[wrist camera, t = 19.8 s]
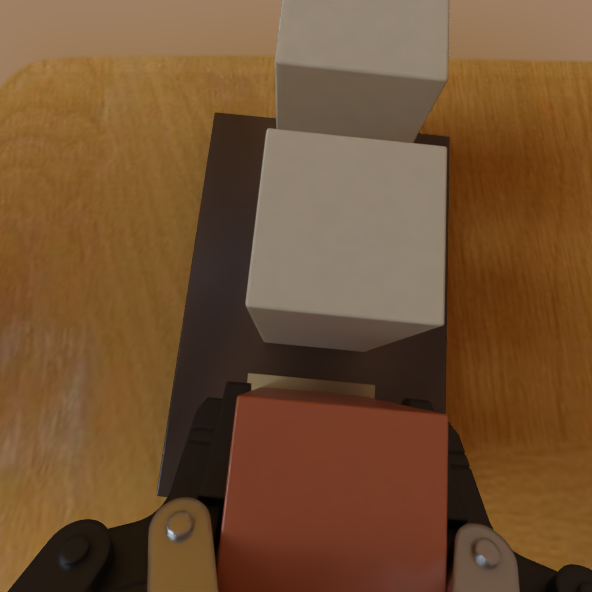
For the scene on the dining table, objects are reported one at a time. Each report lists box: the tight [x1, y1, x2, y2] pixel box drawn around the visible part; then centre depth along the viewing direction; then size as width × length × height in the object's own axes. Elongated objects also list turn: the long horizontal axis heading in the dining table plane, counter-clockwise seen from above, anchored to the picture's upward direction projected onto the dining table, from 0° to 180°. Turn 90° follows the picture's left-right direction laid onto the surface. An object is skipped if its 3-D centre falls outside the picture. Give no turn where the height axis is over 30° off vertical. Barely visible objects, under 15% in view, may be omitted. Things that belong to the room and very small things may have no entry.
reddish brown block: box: [216, 387, 448, 592], centre depth 12 cm, size 5×5×9 cm
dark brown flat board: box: [157, 113, 449, 497], centre depth 19 cm, size 12×18×1 cm, turn 175°
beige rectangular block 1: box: [275, 0, 449, 143], centre depth 15 cm, size 5×5×9 cm
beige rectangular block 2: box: [245, 128, 447, 352], centre depth 14 cm, size 5×5×9 cm
